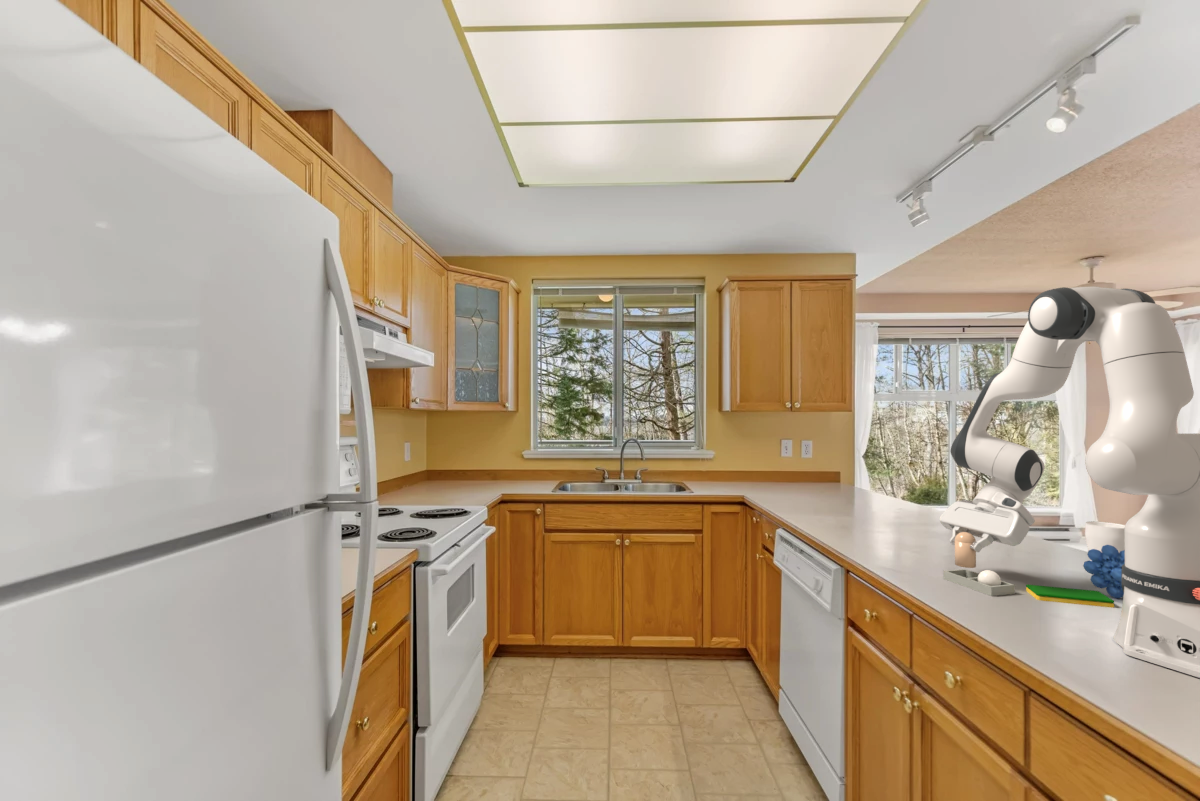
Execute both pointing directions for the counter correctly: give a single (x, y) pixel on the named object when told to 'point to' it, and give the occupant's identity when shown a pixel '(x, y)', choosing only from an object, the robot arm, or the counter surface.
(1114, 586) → the grapes
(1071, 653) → the counter surface
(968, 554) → the tan rounded cylinder
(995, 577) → the white egg
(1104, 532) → the cup
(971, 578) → the carton
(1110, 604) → the dish sponge
